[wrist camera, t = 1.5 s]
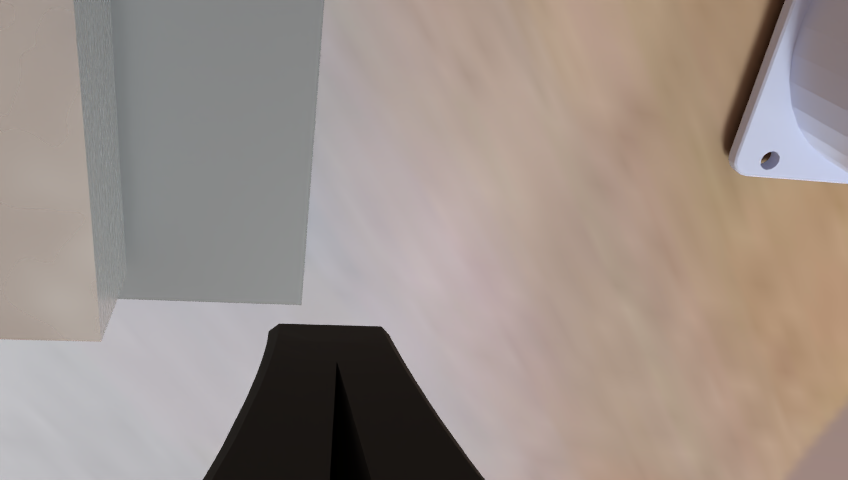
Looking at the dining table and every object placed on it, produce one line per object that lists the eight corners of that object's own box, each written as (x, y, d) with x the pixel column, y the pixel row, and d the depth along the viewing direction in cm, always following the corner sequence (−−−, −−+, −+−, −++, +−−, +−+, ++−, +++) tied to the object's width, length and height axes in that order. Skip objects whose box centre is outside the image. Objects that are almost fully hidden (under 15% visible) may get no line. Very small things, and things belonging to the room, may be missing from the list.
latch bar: (-92, -394, 11) (-242, -477, 8) (123, -351, 11) (61, -413, 8) (7, 269, 16) (-60, 372, 13) (149, 275, 17) (116, 374, 14)
